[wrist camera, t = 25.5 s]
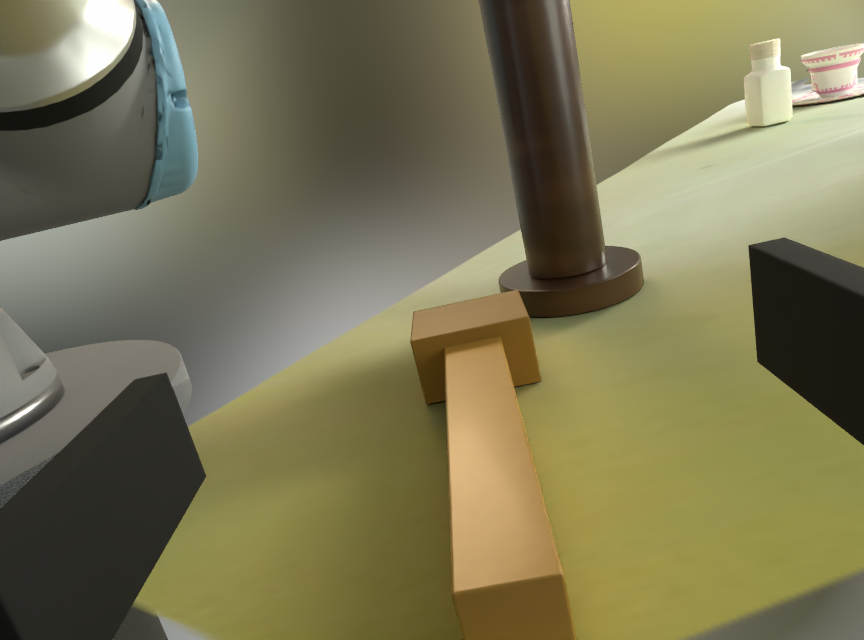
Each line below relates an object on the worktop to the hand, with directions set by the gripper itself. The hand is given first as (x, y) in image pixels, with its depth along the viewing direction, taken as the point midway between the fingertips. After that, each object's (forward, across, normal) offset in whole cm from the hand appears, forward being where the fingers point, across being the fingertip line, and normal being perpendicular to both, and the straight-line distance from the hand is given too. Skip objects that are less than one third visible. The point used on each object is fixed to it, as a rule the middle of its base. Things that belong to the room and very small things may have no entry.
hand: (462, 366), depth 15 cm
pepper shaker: (+71, +41, -7) cm, 82 cm away
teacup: (+82, +55, -7) cm, 99 cm away
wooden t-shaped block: (+7, 0, -6) cm, 10 cm away
